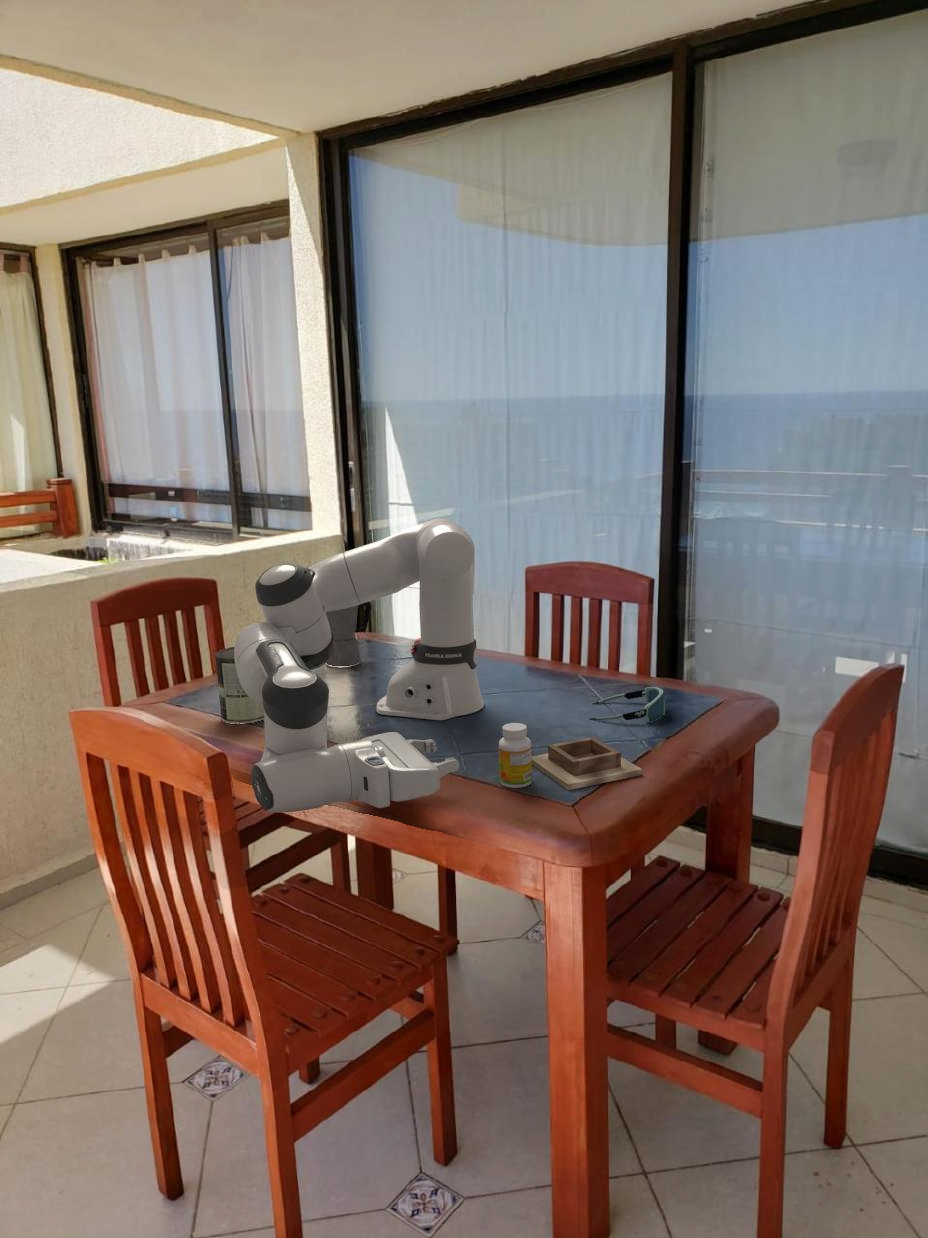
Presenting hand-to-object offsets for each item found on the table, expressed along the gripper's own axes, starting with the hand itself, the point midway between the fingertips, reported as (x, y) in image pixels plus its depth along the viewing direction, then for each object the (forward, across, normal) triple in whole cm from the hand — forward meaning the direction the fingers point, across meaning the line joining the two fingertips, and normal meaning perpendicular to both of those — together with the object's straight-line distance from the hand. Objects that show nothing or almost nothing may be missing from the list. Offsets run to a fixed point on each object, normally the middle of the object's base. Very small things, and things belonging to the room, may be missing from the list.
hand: (445, 754), depth 148 cm
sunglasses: (+48, -23, -8) cm, 54 cm away
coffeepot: (+9, -90, -7) cm, 91 cm away
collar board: (+25, 0, -7) cm, 26 cm away
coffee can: (-22, -58, -7) cm, 63 cm away
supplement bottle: (+12, 0, -8) cm, 14 cm away
